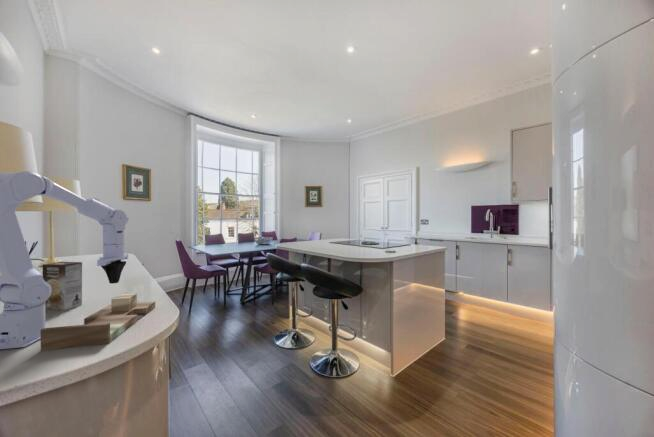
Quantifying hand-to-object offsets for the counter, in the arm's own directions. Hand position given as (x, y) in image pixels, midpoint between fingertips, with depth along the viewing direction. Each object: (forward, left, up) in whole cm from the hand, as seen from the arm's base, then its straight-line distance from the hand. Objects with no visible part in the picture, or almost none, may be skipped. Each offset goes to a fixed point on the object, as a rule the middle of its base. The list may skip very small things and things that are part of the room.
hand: (114, 282), depth 90 cm
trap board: (-14, -6, -9) cm, 18 cm away
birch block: (-6, -6, -7) cm, 11 cm away
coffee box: (+8, +20, -10) cm, 24 cm away
